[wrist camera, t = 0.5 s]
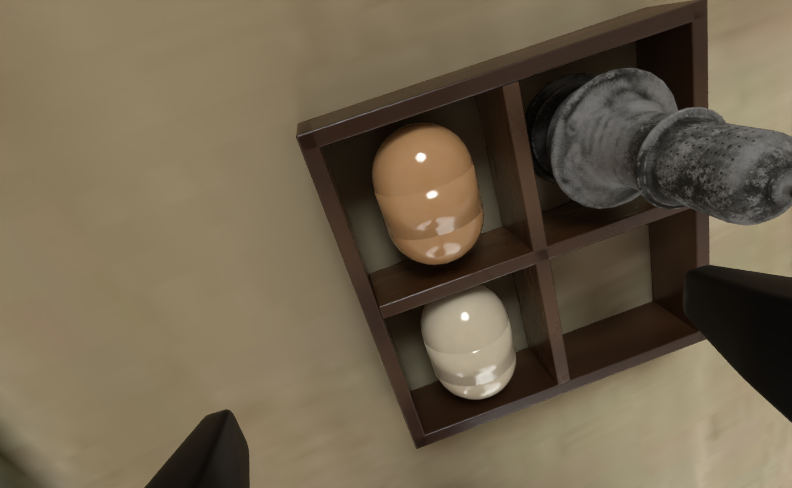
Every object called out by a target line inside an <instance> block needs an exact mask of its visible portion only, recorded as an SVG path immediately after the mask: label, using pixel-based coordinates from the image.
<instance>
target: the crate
mask: <svg viewBox="0 0 792 488" xmlns="http://www.w3.org/2000/svg"><path fill="white" fill-rule="evenodd" d="M635 41H636V44H637V59H638V69H641V70H644V71H648V72H651V73H652V74H654V75H655V76H657V77H658V78H659V79H661V80H662V81H664V83H665V84H666V85H667V87H668V88H669V90H670V91H671V93H672V94H673V96H674V99H675V102H676V105H677V109H678V111H679V110H682V109H685V108H691V107H703V108H707V109H708V32H707V0H693V1H686V2H679V3H672V4H666V5H659V6H652V7H646V8H643V9H640V10H637V11H634V12H631V13H628V14H625V15H622V16H619V17H616V18H613V19H610V20H607V21H604V22H601V23H598V24H595V25H592V26H589V27H586V28H583V29H580V30H577V31H574V32H571V33H568V34H565V35H562V36H559V37H556V38H553V39H550V40H547V41H544V42H541V43H538V44H535V45H532V46H529V47H526V48H523V49H520V50H517V51H514V52H511V53H508V54H505V55H502V56H499V57H496V58H493V59H490V60H487V61H484V62H481V63H478V64H475V65H472V66H469V67H466V68H463V69H460V70H457V71H454V72H451V73H448V74H445V75H442V76H439V77H436V78H433V79H430V80H427V81H424V82H421V83H418V84H415V85H412V86H409V87H406V88H403V89H400V90H397V91H394V92H391V93H388V94H385V95H382V96H379V97H376V98H373V99H370V100H367V101H364V102H361V103H358V104H355V105H352V106H349V107H346V108H343V109H340V110H337V111H334V112H331V113H328V114H325V115H322V116H319V117H316V118H313V119H310V120H307V121H304V122H301V123H298V124H297V135H296V138H297V141H298V143H299V146H300V148H301V151H302V154H303V156H304V159H305V161H306V164H307V167H308V169H309V172H310V174H311V177H312V180H313V182H314V185H315V187H316V190H317V193H318V195H319V198H320V200H321V203H322V206H323V208H324V211H325V213H326V216H327V219H328V221H329V224H330V226H331V229H332V232H333V234H334V237H335V239H336V242H337V245H338V247H339V250H340V252H341V255H342V258H343V260H344V263H345V265H346V268H347V271H348V273H349V276H350V278H351V281H352V284H353V286H354V289H355V291H356V294H357V297H358V299H359V302H360V304H361V307H362V310H363V312H364V315H365V317H366V320H367V323H368V325H369V328H370V330H371V333H372V336H373V338H374V341H375V343H376V346H377V349H378V351H379V354H380V356H381V359H382V362H383V364H384V367H385V369H386V372H387V375H388V377H389V380H390V382H391V385H392V387H393V390H394V393H395V395H396V398H397V400H398V403H399V406H400V408H401V411H402V413H403V416H404V419H405V421H406V424H407V426H408V429H409V432H410V434H411V437H412V439H413V442H414V445H415V447H416V449H418V448H421V447H423V446H426V445H428V444H431V443H434V442H436V441H439V440H442V439H444V438H447V437H450V436H452V435H455V434H457V433H460V432H463V431H465V430H468V429H471V428H473V427H476V426H479V425H481V424H484V423H486V422H489V421H492V420H494V419H497V418H500V417H502V416H505V415H508V414H510V413H513V412H516V411H518V410H521V409H523V408H526V407H529V406H531V405H534V404H537V403H539V402H542V401H545V400H547V399H550V398H552V397H555V396H558V395H560V394H563V393H566V392H568V391H571V390H574V389H576V388H579V387H581V386H584V385H587V384H589V383H592V382H595V381H597V380H600V379H603V378H605V377H608V376H610V375H613V374H616V373H618V372H621V371H624V370H626V369H629V368H632V367H634V366H637V365H640V364H642V363H645V362H647V361H650V360H653V359H655V358H658V357H661V356H663V355H666V354H669V353H671V352H674V351H676V350H679V349H682V348H684V347H687V346H690V345H692V344H695V343H698V342H700V341H703V340H705V339H706V337H705V336H704V335H703V334H702V333H701V332H700V331H699V330H698V329H697V328H696V327H695V325H694V324H693V323H692V322H691V321H690V320H689V319H688V318H687V316H686V314H685V312H684V308H683V294H684V276H685V274H686V273H687V272H688V271H689V270H691V269H695V268H698V267H701V266H705V265H709V215H707V214H704V213H702V212H699V211H697V210H694V209H692V208H689V207H686V206H685V207H682V208H678V209H663V208H658V207H656V206H654V205H652V204H650V203H649V202H647V201H646V200H645V199H644V198H643V196H642V195H639V196H638V197H636V198H635V199H633V200H631V201H630V202H627V203H624V204H622V205H619V206H616V207H610V208H601V209H598V208H593V207H587V206H583V205H581V204H580V203H578V202H576V201H574V202H571V203H568V204H565V205H562V206H559V207H557V208H554V209H551V210H548V211H545V212H543V213H541V208H540V202H539V197H538V191H537V185H536V179H535V173H534V168H533V162H532V156H531V150H530V144H529V139H528V133H527V127H526V121H525V116H524V110H523V104H522V98H521V92H520V87H519V82H518V81H519V80H522V79H525V78H528V77H531V76H534V75H537V74H540V73H543V72H546V71H549V70H552V69H554V68H557V67H560V66H563V65H566V64H569V63H572V62H575V61H578V60H581V59H584V58H587V57H590V56H593V55H596V54H599V53H602V52H605V51H608V50H611V49H614V48H617V47H620V46H623V45H626V44H629V43H632V42H635ZM474 95H475V97H476V101H477V106H478V111H479V115H480V120H481V125H482V129H483V134H484V139H485V144H486V148H487V153H488V158H489V162H490V167H491V172H492V176H493V181H494V186H495V190H496V195H497V200H498V205H499V209H500V214H501V219H502V223H503V227H500V228H497V229H495V230H492V231H489V232H486V233H483V234H481V235H480V236H479V238H478V240H477V241H476V243H475V244H474V246H473V247H472V248H471V249H470V250H469V251H468V252H467V253H466V254H465V255H464V256H462V257H461V258H459V259H457V260H455V261H452V262H450V263H446V264H441V265H427V264H422V263H419V262H416V261H414V260H412V259H410V260H407V261H404V262H402V263H399V264H396V265H393V266H390V267H388V268H385V269H382V270H379V271H376V272H374V273H371V274H368V271H367V268H366V266H365V263H364V260H363V257H362V255H361V252H360V249H359V246H358V244H357V241H356V238H355V235H354V233H353V230H352V227H351V225H350V222H349V219H348V216H347V214H346V211H345V208H344V205H343V203H342V200H341V197H340V194H339V192H338V189H337V186H336V183H335V181H334V178H333V175H332V172H331V170H330V167H329V164H328V161H327V159H326V156H325V153H324V150H323V148H322V147H323V146H326V145H329V144H332V143H335V142H338V141H341V140H344V139H347V138H350V137H353V136H356V135H359V134H362V133H365V132H368V131H371V130H374V129H376V128H379V127H382V126H385V125H388V124H391V123H394V122H397V121H400V120H403V119H406V118H409V117H412V116H415V115H418V114H421V113H424V112H427V111H430V110H433V109H436V108H439V107H442V106H445V105H448V104H451V103H454V102H457V101H460V100H463V99H465V98H468V97H471V96H474ZM648 223H649V236H650V250H651V265H652V280H653V295H654V301H653V302H650V303H647V304H645V305H642V306H639V307H637V308H634V309H631V310H628V311H626V312H623V313H620V314H618V315H615V316H612V317H610V318H607V319H604V320H602V321H599V322H596V323H593V324H591V325H588V326H585V327H583V328H580V329H577V330H575V331H572V332H569V333H567V334H564V335H562V330H561V324H560V318H559V312H558V307H557V301H556V295H555V289H554V283H553V278H552V272H551V266H550V260H549V259H551V258H554V257H557V256H560V255H562V254H565V253H568V252H571V251H573V250H576V249H579V248H582V247H585V246H587V245H590V244H593V243H596V242H598V241H601V240H604V239H607V238H609V237H612V236H615V235H618V234H621V233H623V232H626V231H629V230H632V229H634V228H637V227H640V226H643V225H645V224H648ZM510 273H513V275H514V280H515V284H516V289H517V294H518V298H519V303H520V308H521V313H522V317H523V322H524V327H525V331H526V336H527V341H528V345H529V348H526V349H523V350H521V351H518V352H516V357H517V358H516V366H515V371H514V373H513V376H512V378H511V380H510V381H509V383H508V384H507V385H506V386H505V387H504V388H503V389H502V390H501V391H500V392H499V393H497V394H496V395H494V396H491V397H489V398H486V399H480V400H471V399H465V398H462V397H459V396H456V395H455V394H453V393H451V392H450V391H448V390H447V389H446V388H445V387H444V386H443V385H442V384H441V383H440V381H437V382H435V383H432V384H429V385H427V386H424V387H421V388H418V389H416V390H413V391H411V389H410V386H409V384H408V381H407V378H406V375H405V373H404V370H403V367H402V365H401V362H400V359H399V356H398V354H397V351H396V348H395V345H394V343H393V340H392V337H391V334H390V332H389V329H388V326H387V323H386V321H385V318H388V317H391V316H394V315H396V314H399V313H402V312H405V311H407V310H410V309H413V308H416V307H418V306H421V305H424V304H427V303H430V302H432V301H435V300H438V299H441V298H443V297H446V296H449V295H452V294H454V293H457V292H460V291H463V290H466V289H468V288H471V287H474V286H477V285H479V284H482V283H485V282H488V281H490V280H493V279H496V278H499V277H502V276H504V275H507V274H510Z"/></svg>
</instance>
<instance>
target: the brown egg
mask: <svg viewBox="0 0 792 488" xmlns="http://www.w3.org/2000/svg"><path fill="white" fill-rule="evenodd" d="M372 183H373V187H374V192H375V195H376V198H377V201H378V204H379V207H380V210H381V213H382V216H383V219H384V222H385V225H386V228H387V231H388V234H389V236H390V238H391V240H392V242H393V243H394V244H395V246H396V247H397V248H398V250H399V251H400V252H402V253H403V254H404V255H405V256H406V257H408V258H410V259H412V260H414V261H416V262H419V263H422V264H427V265H441V264H446V263H450V262H452V261H455V260H457V259H459V258H461V257H462V256H464V255H465V254H466V253H467V252H468V251H469V250H470V249H471V248H472V247H473V246H474V244H475V243H476V241H477V240H478V238H479V236H480V233H481V230H482V227H483V220H484V212H483V204H482V199H481V195H480V191H479V186H478V182H477V177H476V173H475V169H474V164H473V161H472V158H471V155H470V152H469V150H468V148H467V147H466V145H465V143H464V142H463V141H462V140H461V139H460V138H459V137H458V135H456V134H455V133H454V132H452V131H451V130H449V129H448V128H446V127H444V126H441V125H439V124H435V123H429V122H418V123H411V124H408V125H405V126H402V127H401V128H399V129H397V130H395V131H394V132H392V133H391V134H390V135H389V136H388V137H387V138H386V139H385V140H384V141H383V142H382V144H381V145H380V147H379V148H378V150H377V153H376V155H375V157H374V160H373V165H372Z"/></svg>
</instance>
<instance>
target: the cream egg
mask: <svg viewBox="0 0 792 488" xmlns="http://www.w3.org/2000/svg"><path fill="white" fill-rule="evenodd" d="M421 332H422V337H423V340H424V343H425V346H426V349H427V352H428V355H429V359H430V362H431V365H432V368H433V370H434V373H435V375H436V377H437V378H438V380H439V381H440V383H441V384H442V385H443V386H444V387H445V388H446V389H447V390H448V391H450V392H451V393H453V394H455V395H456V396H459V397H462V398H465V399H471V400H480V399H486V398H489V397H491V396H494V395H496V394H497V393H499V392H500V391H501V390H502V389H503V388H504V387H505V386H506V385H507V384H508V383H509V381H510V380H511V378H512V376H513V373H514V371H515V366H516V358H517V357H516V349H515V344H514V339H513V335H512V331H511V326H510V322H509V318H508V314H507V311H506V308H505V306H504V305H503V303H502V301H501V300H500V298H499V297H498V296H497V295H496V294H495V293H494V292H493V291H492V290H490V289H489V288H487V287H485V286H483V285H482V284H479V285H477V286H474V287H471V288H468V289H466V290H463V291H460V292H457V293H454V294H452V295H449V296H446V297H443V298H441V299H438V300H435V301H432V302H430V303H427V304H425V306H424V309H423V312H422V315H421Z"/></svg>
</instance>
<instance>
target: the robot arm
mask: <svg viewBox="0 0 792 488" xmlns="http://www.w3.org/2000/svg"><path fill="white" fill-rule="evenodd" d="M683 308H684V312H685V314H686V316H687V318H688V319H689V320H690V321H691V322H692V323H693V324H694V325H695V327H696V328H697V329H698V330H699V331H700V332H701V333H702V334H703V335H704V336H705V337H706V339H707V340H708V341H709V342H710V343H711V344H712V345H713V346H714V347H715V348H716V349H717V351H718V352H719V353H720V354H721V355H722V356H723V357H724V358H725V359H726V360H727V361H728V363H729V364H730V365H731V366H732V367H733V368H734V369H735V370H736V371H737V372H738V373H739V374H740V375H741V376H742V377H743V378H744V379H745V380H746V381H747V382H748V383H749V384H750V385H751V386H752V387H753V388H754V389H755V390H756V391H757V392H759V393H760V394H761V395H762V396H763V397H764V398H765V399H766V400H767V401H768V402H770V403H771V404H772V405H773V406H774V407H775V408H776V409H777V410H778V411H779V412H781V413H782V414H783V415H784V416H785V417H786V418H787V419H788V420H789V421H790V422H792V277H785V276H778V275H772V274H765V273H759V272H752V271H746V270H739V269H732V268H726V267H719V266H713V265H705V266H701V267H698V268H695V269H691V270H689V271H688V272H687V273H686V274H685V276H684V294H683ZM145 488H250V481H249V449H248V445H247V442H246V439H245V437H244V435H243V433H242V431H241V429H240V427H239V425H238V422H237V420H236V418H235V416H234V414H233V413H232V412H231V411H230V410H227V409H226V410H222V411H219V412H216V413H212V414H209V415H207V416H205V418H204V419H203V420H202V421H201V422H200V423H199V424H198V425H197V427H196V428H195V429H194V430H193V431H192V432H191V434H190V435H189V436H188V437H187V438H186V440H185V441H184V442H183V443H182V444H181V445H180V447H179V448H178V449H177V450H176V451H175V452H174V454H173V455H172V456H171V457H170V458H169V459H168V461H167V462H166V463H165V464H164V465H163V467H162V468H161V469H160V470H159V471H158V472H157V474H156V475H155V476H154V477H153V478H152V479H151V481H150V482H149V483H148V484H147V485H146V486H145Z"/></svg>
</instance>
